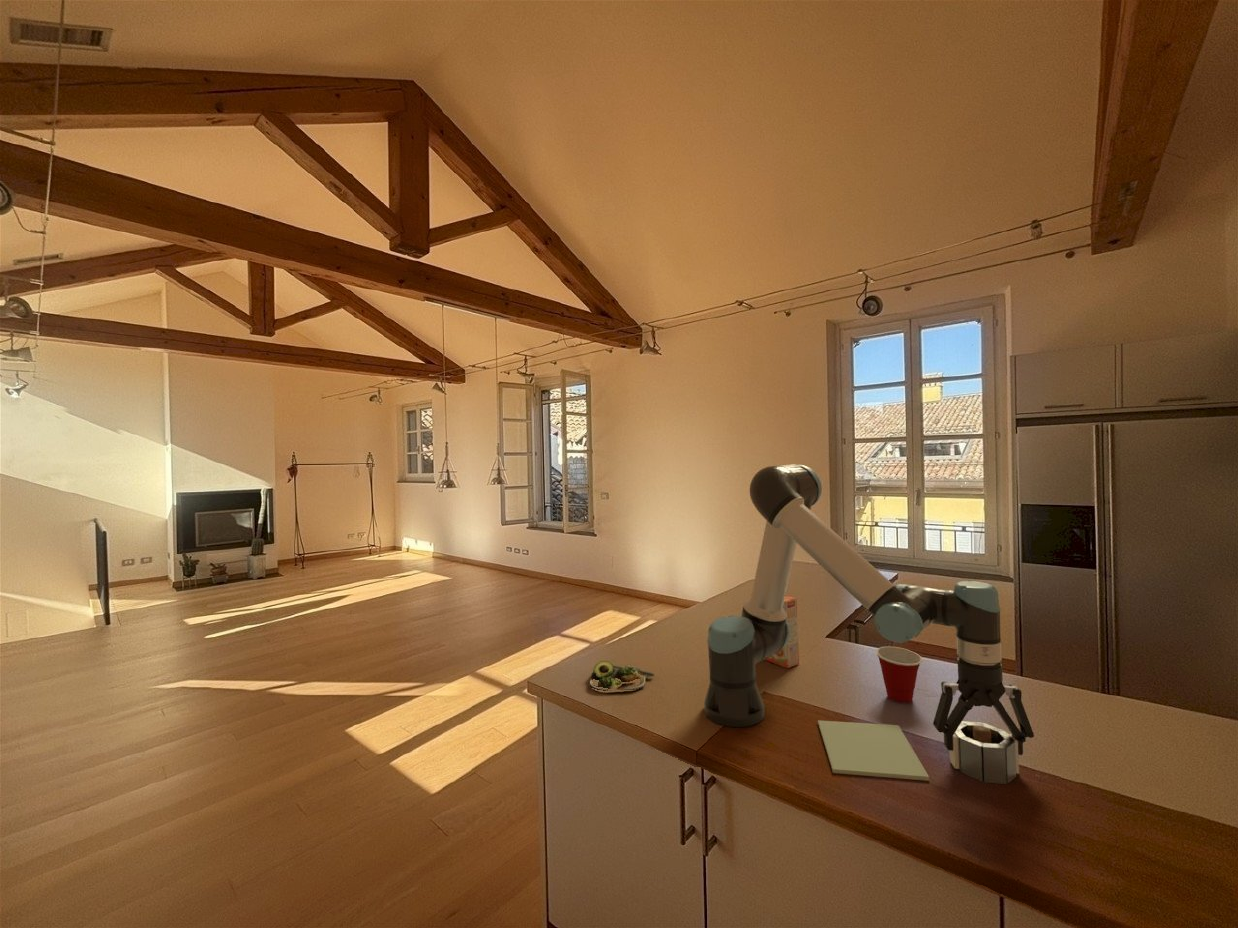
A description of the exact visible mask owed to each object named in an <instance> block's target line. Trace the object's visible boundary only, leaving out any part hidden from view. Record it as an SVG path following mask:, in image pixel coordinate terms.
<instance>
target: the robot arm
mask: <svg viewBox="0 0 1238 928" xmlns="http://www.w3.org/2000/svg"><path fill="white" fill-rule="evenodd" d="M822 490H823V488H822V481H821V480H820V477H819V476H818V474H817V473H816V472H815V471H814V470H813V469H812V468H811V467H809V466H806V465H803V464H796V463H789V464H781V465H770V466H766V467H764V468H762V469H760V470H759V471H757V472H756V473H755V474H754V476H753V477H752V479H751V481H750V484H749V496H750V500H751V502H752V504H753V505H754V507H755V509H756V511H758V513H759V514H760V515H761V516H762V517H763V518H764V520H765V521H766V523H765V527H764V532H763V537H762V540H761V541H762V542H761V546H760V552H759V556H758V560H757V561H758V562H757V565H756V566H757V567H756V572H755V576H754V580H753V581H754V582H753V585H752V586H753V587H752V591H751V593H752V595H751V594H750V598H749V599H748V600H745V602H744V603H743V606H742V611H741V615H728V616H722V617H720V618H716V619H715V620H714V621H712V622H711V623H710V625H708V630H707V633H708V634H707V641H706V642H707V647H708V648H707V649H708V663H709V685H708V687H707V692H706V695H705V698H704V705H703V706H704V708H703V709H704V713H705V716H706V717H707V718H708V719H709V720H710V721H712V722H714V723H715V722H716V723H715V724H718V725H721V726H725V727H732V728H745V727H750V726H754V725H757V724H758V723H759V724H760V722H761V721H762V720H764V718H765V704H764V701H763V698H762V696H761V693H760V690H759V688H758V685H757V677H756V676H757V675H756V674H757V671H756V670H757V669H756V664H758V663H760V662H762V661H763V660H764V659H766V658H768V657H769V656H771V655H773V654H775V653H777V652H779V651H780V650H781V649H782V648H783V647H784V646H785V645H786V643H787V641H788V639H789V625H788V624H787V622H786V621H787V620H786V618H787V614H786V612H785V610H784V609H783V604H784V599H785V596H786V593H787V589H788V585H789V580H790V574H791V571H792V566H793V562H794V556H795V551H796V548H797V545H799V547H800V548H801V549H802V550H803V551H805V552H806V553H807V554H808V555H809V556H810V557H811V558H812V559H813V560H814V561H815V562H816V563H818V564H819V566H820V567H822V568H823V569H824V571H826V572H827V573H828V574H829V575H830V576H831V577H833V579H834V580H835V581H837V582H838V583H839V585H840V586H842V587H843V588H844V589H845V590H846V591H847V592H848V593H849V594H850V595H851V596H852V597H853V598H854V599H856V600H857V602H858V603H860V604H861V605H862V607H864V608H865V609H866V610H867V611H868V612H869V613H870V614H871V615H872V616H873V617H874V625H875V626H876V629H877V632H878V633H879V634H880V635H881V636H882V637H883V638H885V639H886V640H888V641H891V642H892V643H898V644H899V643H900V644H901V643H906V642H909V641H910V640H912V639H915V638H917V637H918V636H919V635H920V634H921V632H923V630H924V629H926V628H927V627H928V626H930V625H931V624H935V625H940V626H946V627H954V628H955V629H956V630H955V631H956V632H955V634H956V654H957V655H958V657H957V674H958V675H957V676H958V678H957V681H956V682H955V683H948V682H947V681H945V680H944V681H942V682H941V684H940V685H941V695H940V698H939V702H938V705H937V708H936V711H935V714H934V719H933V723H932V725H933V727H935V729H936V730H937V732H939V733H943V744H944V747H945V748H946V749H947V751H949V752H948V753H949V762H950V763H951V765H952V767H953V768H954V769H955V770H956V769H957V770H959V753H958V737H957V736H956V734H955V731H956V730H957V728H958V727H959V725H960V724H961V722H962V721H964V719H965V717H966V716H967V714H968V712H969V711H971V710H972V709H973V707H982V706H984V707H987V708H992V707H993V708H994V710H995V711H996V712H997V715H999V717H1000V718H1001V719H1002V721H1003V723H1004V724H1005V725H1006V727H1007V729H1008V730H1009V731H1010V733H1008V734H1009V735H1010V736H1011V738H1012V739H1013V740H1014V741H1015V756H1016V774H1020V764H1019V762H1020V760H1019V756H1023V755H1024V743H1026V740H1027V739H1026V738H1030V739H1031V738H1034V737H1035V734H1034V730H1033V729H1032V726H1031V723H1030V720H1029V717H1028V715H1027V712H1026V710H1025V707H1024V705H1023V702H1022V697H1023V696H1022V694H1023V693H1022V691H1021V689H1019V688H1018V687H1017V685H1015V684H1013V683H1010V684H1009V685H1004V684H1003V679H1004V678H1003V665H1002V663H1001V662H1002V657H1003V656H1002V639H1001V637H1002V636H1001V607H1000V601H999V591H998V589H997V588H996V587H995V586H994V585H993V584H991V583H986V582H983V581H975V580H974V581H971V580H963V581H958V582H956V583H955V584H954V588H953V589H945V588H937V587H930V586H924V585H922V586H921V585H917V584H916V585H915V584H913V583H910V584H905V583H897V584H896V585H895V584H894V583H893V582H891V581H890V580H889V579H888V578H887V577H886V576H884V575H883V574H882V572H880V571H879V570H878V569H877V568H876V567H874V566H873V565H872V564H871V563H870V562H869V561H868V560H867V559H866V558H864V557H863V556H862V555H861V554H860V553H859V552H858V551H856V549H854V548H853V546H851V545H850V544H848V543H847V541H845V540H844V539H843V538H842V537H841V536H840V535H839V534H838V533H836V532H835V531H834V530H833V529H832V528H831V527H830V526H828V524H826V522H824V521H823V520H822V519H821V518H819V517H818V516H817V515H816V514H815V513H814V512H813V511H812V507H813V506H814V505H815V504H816V503H817V502H818V501H819V499H820V498H821V496H822ZM764 661H765V660H764ZM957 691H959V692H960V695H959V697H958V698H957V699H958V701H957V703H956V705H955V706H954V708H953V709H952V710H951V708H952V707H951V706H952V703H953V699H954V696H955V695H956V694H957V693H956V692H957ZM1004 694H1006V696H1007V697H1008V699H1009V701H1010V704H1011V708H1012V709H1013V712H1014V715H1015V718H1016V721H1017V723H1018V726H1019V728H1018V727H1017V725H1016V723H1015V722H1014V720H1013V719H1012V718H1011V716H1010V715H1009V713H1008V712H1007V710H1006V708H1005V706H1004V705H1003V704H1002V702H1001V700H1000V699H1001V698H1002V697H1003V695H1004ZM950 710H951V712H950Z"/></svg>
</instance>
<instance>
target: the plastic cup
mask: <svg viewBox="0 0 1238 928" xmlns="http://www.w3.org/2000/svg"><path fill="white" fill-rule="evenodd" d="M875 653H876V655H877V657H878V660H879V664H880V669H881V672H882V677H883V678H882V679H883V683H884V686H885V691H886V696H887V697H888V699H889V700H890V701H893V702H895V703H899V704H910V703H912V702H913V698H914V694H915V693H914V691H915V687H916V682H917V677H918V671H919V667H920V665H921V664H922V662H923V661H924V660H923V657H922V656H921V655H919V654H918V653H916V652H914V651H911V650H910V649H907V648H902V647H898V646H881V647H878V648H877V649H876V652H875Z"/></svg>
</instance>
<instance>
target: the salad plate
mask: <svg viewBox="0 0 1238 928" xmlns="http://www.w3.org/2000/svg"><path fill="white" fill-rule="evenodd" d="M649 677H655V673H653V672H650V671H645V670H643V669H642V668H640V667H638V666H634V665H633V666H632V665H631V666H628V665H625V666H617V665H613V664H612V662H610V661H608V660H601V661H599V662H597V663H596V664H595V665H594V667H593V672H592V673H591V675H590V680H589V683H588V686H590V687H591V688H594V689H597V690H603V691H606V690H607V691H608V690H609V689H614V688H616V687H617V686H618V685H620V684H621V682H630V681H633V680H635V679H640V684H639V685H637V686H635V685H634V686H632V687H629V688H624V689H620V690H635V689H638V690H640V689H641V687H642V688H643V687H644V686H645V685H646V679H647V678H649ZM615 678H618V679H620V680H621V682H620V681H618V680H616V679H615ZM593 679H595V680H599V682H598V686H595V685H594V684H593V682H592V680H593ZM590 687H589V688H590ZM599 687H603V688H608V689H603V688H599ZM591 688H590V689H591ZM639 688H640V689H639ZM610 691H611V690H610Z"/></svg>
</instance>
